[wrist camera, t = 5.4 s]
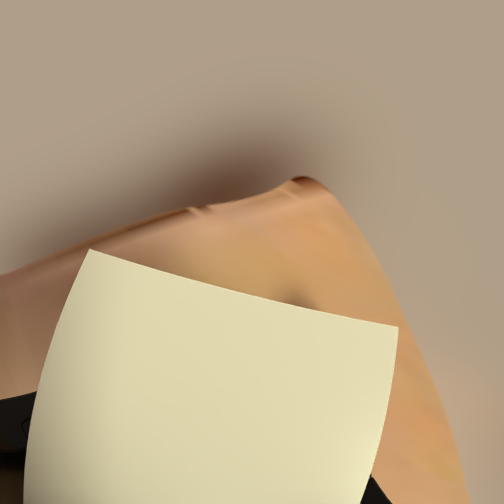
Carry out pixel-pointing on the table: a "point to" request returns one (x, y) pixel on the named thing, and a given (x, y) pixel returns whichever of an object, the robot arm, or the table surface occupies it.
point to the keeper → (203, 396)
